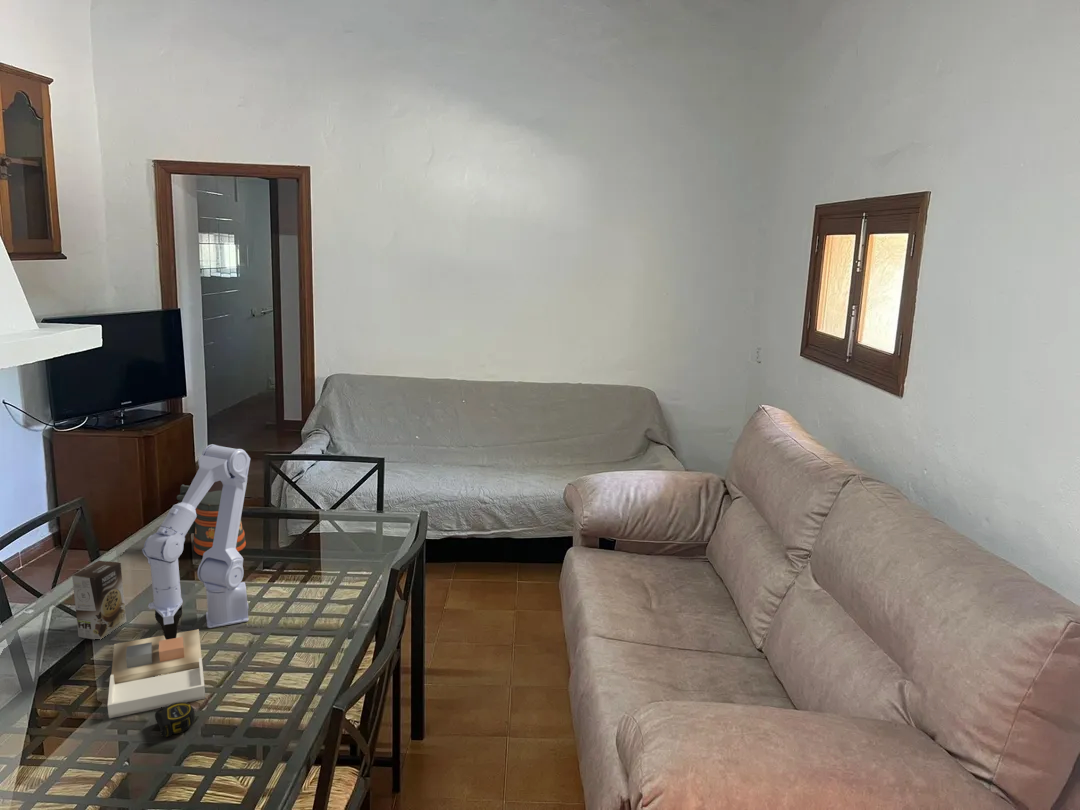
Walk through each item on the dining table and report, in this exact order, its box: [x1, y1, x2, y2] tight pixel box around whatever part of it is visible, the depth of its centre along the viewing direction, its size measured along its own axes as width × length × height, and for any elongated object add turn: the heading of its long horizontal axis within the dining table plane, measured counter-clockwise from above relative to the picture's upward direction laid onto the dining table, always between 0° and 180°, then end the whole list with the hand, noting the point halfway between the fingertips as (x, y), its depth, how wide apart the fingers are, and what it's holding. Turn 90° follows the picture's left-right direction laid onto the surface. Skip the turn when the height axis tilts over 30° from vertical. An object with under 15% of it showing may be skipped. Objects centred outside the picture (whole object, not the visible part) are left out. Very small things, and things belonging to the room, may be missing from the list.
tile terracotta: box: [159, 637, 184, 662], centre depth 182 cm, size 5×5×2 cm
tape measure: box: [154, 702, 196, 738], centre depth 160 cm, size 7×7×4 cm
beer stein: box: [176, 484, 247, 557], centre depth 240 cm, size 19×15×20 cm
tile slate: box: [126, 642, 153, 668], centre depth 179 cm, size 5×5×2 cm
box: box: [107, 658, 206, 719], centre depth 170 cm, size 18×12×3 cm, turn 115°
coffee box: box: [71, 560, 127, 641], centre depth 193 cm, size 9×6×16 cm
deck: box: [110, 628, 203, 684], centre depth 183 cm, size 18×15×2 cm
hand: (171, 638), depth 186 cm, fingers closed
